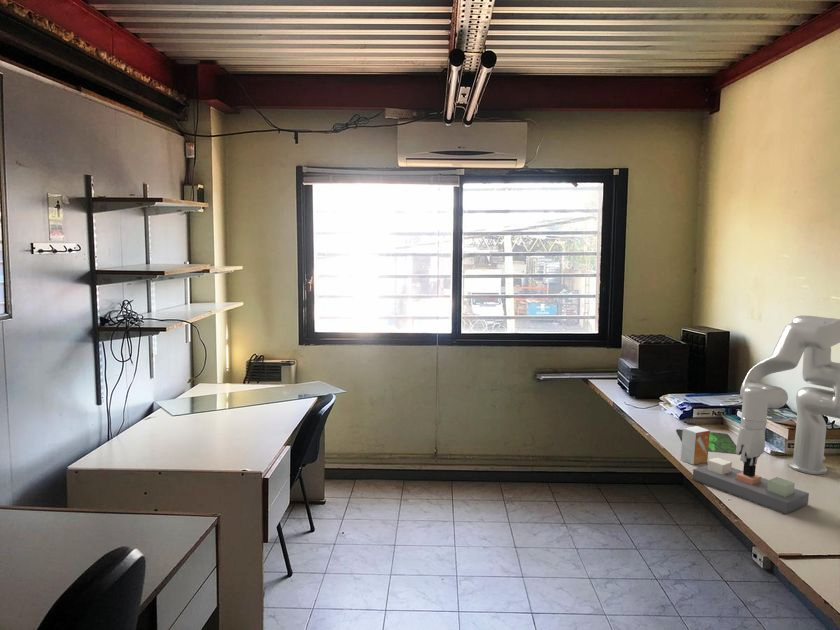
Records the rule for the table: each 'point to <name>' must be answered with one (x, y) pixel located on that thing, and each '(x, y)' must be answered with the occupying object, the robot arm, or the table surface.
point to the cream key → (719, 466)
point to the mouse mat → (717, 442)
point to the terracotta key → (748, 479)
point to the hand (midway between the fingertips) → (748, 475)
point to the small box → (695, 445)
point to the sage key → (781, 486)
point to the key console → (751, 490)
